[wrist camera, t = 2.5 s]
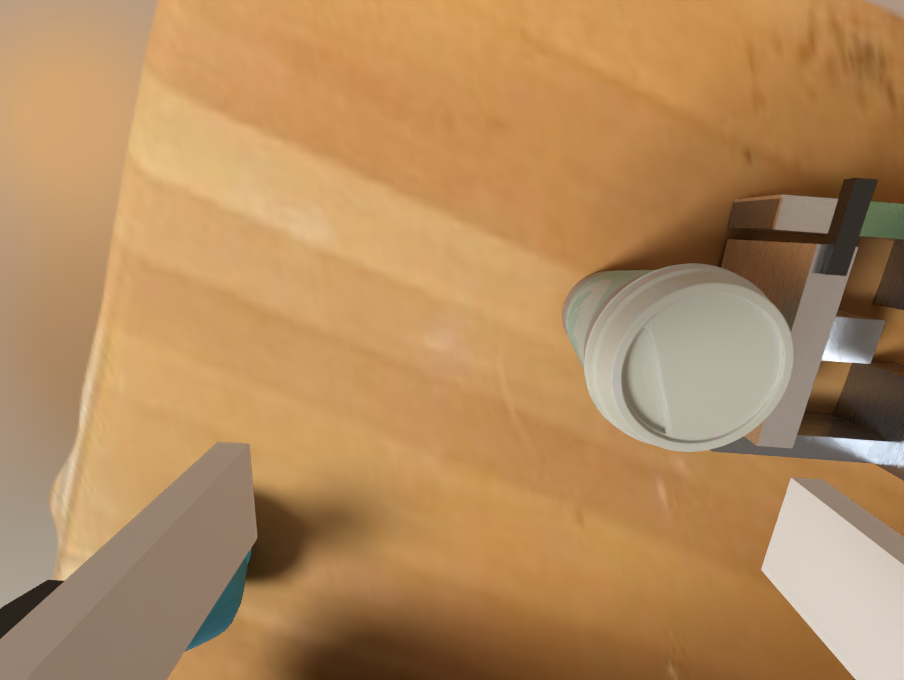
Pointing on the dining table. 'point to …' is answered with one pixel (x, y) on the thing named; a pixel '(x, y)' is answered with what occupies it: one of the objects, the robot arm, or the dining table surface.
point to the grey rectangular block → (810, 304)
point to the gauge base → (868, 385)
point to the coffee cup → (680, 353)
